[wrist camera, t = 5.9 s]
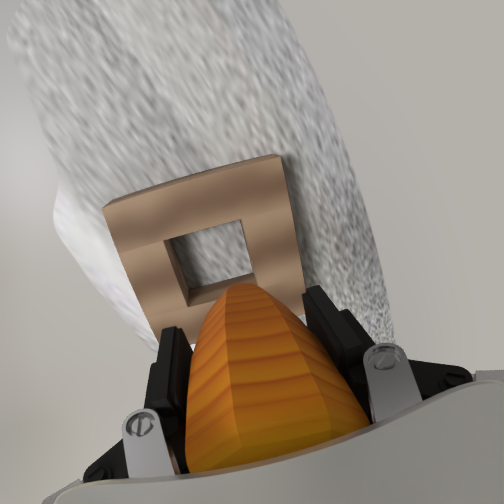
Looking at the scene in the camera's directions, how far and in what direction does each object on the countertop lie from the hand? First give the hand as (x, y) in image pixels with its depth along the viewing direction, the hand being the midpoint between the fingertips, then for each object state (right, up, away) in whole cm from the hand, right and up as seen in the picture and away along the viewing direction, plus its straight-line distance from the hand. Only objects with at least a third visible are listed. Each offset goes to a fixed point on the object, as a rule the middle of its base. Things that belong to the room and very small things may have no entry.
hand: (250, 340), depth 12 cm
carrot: (-1, +2, +4) cm, 5 cm away
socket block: (-5, +3, +23) cm, 24 cm away
